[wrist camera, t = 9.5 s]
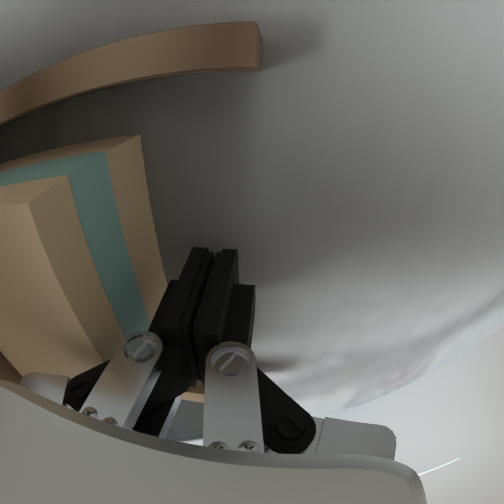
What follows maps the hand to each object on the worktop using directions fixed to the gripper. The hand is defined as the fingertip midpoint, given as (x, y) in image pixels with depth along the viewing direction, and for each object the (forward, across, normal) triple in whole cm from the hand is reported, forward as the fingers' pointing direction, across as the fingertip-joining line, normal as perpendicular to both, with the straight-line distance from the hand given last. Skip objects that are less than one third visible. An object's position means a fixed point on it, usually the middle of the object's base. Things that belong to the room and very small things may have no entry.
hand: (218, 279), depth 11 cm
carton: (+1, +7, 0) cm, 7 cm away
